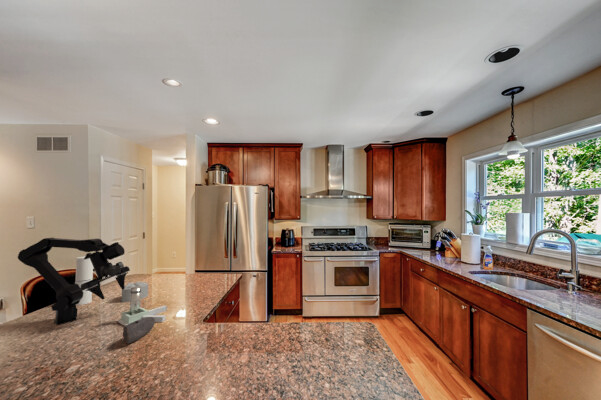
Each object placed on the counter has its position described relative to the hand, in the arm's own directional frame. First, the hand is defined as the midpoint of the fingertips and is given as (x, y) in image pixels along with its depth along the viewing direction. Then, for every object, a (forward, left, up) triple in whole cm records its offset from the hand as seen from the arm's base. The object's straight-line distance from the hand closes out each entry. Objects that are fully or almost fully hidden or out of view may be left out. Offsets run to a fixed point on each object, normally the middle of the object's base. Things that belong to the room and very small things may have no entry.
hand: (113, 294), depth 114 cm
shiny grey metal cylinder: (+5, -11, -10) cm, 16 cm away
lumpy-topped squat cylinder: (+17, +22, -11) cm, 30 cm away
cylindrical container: (-1, +38, -11) cm, 39 cm away
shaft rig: (+9, -15, -11) cm, 21 cm away
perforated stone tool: (-1, -30, -11) cm, 32 cm away
